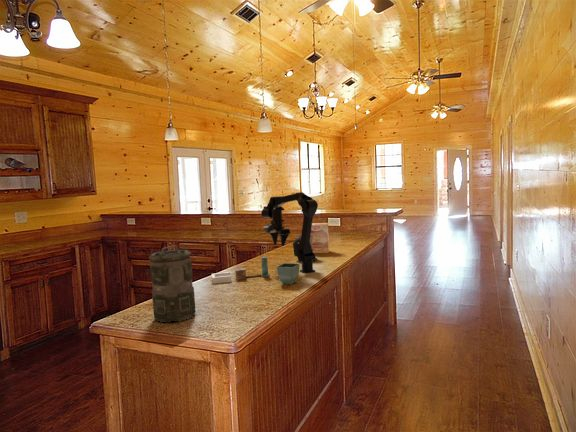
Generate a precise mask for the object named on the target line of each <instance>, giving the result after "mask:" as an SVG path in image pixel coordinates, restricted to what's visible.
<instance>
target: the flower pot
mask: <svg viewBox="0 0 576 432" xmlns="http://www.w3.org/2000/svg"><path fill="white" fill-rule="evenodd" d="M276 272H277V275H278V279H279V281H280V282H281V284H282V285H292V284H294V283H296V282H297V280H298V278H299V275H300V263H290V262H289V263H287V262H286V263H284V262H283V263H281V264H279V265H277V266H276Z"/></svg>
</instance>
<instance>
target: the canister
mask: <svg viewBox="0 0 576 432" xmlns="http://www.w3.org/2000/svg"><path fill="white" fill-rule="evenodd" d="M171 248H175V249H171ZM168 249H171V250H168ZM191 255H192V254H191V251H189V249H186V248H178V245H176V244H174V245H170V246H165V247H163V248H161V250H159V251H154V253H152V254H151V255H149V256H148V260H149V263H150V264H149V270H150V271H149V272H150V281H151V286H152V293H151V294H152V295H151V296H152V297H151V298H152V299H151V300H152V306H153V307H152V310H153V318H154V320H155V321H156V320H157V321H156V322H158V321H160V322H159V323H162V322H167V323H172V322H171V321H175V322H178V321H180V322H183V321H182V320H184V321H186V319H187V320H189V319H191V318H192V316H194V315H195V314H196V311H197V310H196V300H195V299H196V297H195V287H194V286H193V277H194V276H193V265H192V264H193V263H192V260H191Z"/></svg>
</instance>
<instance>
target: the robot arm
mask: <svg viewBox="0 0 576 432" xmlns="http://www.w3.org/2000/svg"><path fill="white" fill-rule="evenodd" d="M294 201H297V203H298V205H299V206H300V207H301V213H302V215H303V220H302V226H301V234H300V235H301V241H300V243H299V242H298V243H297V244H296V249H295V251H296V255H297V256H296V257H297V261H298V262H300V263H301V269H299V273H300V272H301V273H304V274H308V273H312V272H313V273H314V272H316V270H315V269H314V266H313V265H314V264H313V262H314V261H313V259H315V257H316V253H313V252H312V249H311V244H310V235H311V228H312V223H313V220H314V219H313V218H314V216H315V214H316V213H317V210H318V206H319V203H318V202H317V200H315V199H313V198H312V197H311V196H310V195H307V194H306V193H304V192H303V191H301V192H299V191H298V192H295V193H292V194H287V195H278V196H277V195H276V196H271V197H270V199H269V201H268V203H267V204H266V205H265V206H263V209H262V210H261V213H260V214H261V217H262V218H264V219H271V220H270V223H268V224H266V225H264V226H262V227H263V231H264V232H265V233H267V234H268V235H270V236H271V239H272V243H273V244H274V245H277V243H278V238H280V245H281V247H284V246H285V244H286V242H287V239H288V237H289V235H290V234H291V229H289V228H287V227H285V226H283V225H284V224H283V223H284V222H285V220H284V219H283V211H285V210H286V209H285V208H284V207H283V206H284V205H285V204H287V203H290V202H294ZM316 258H317V257H316Z"/></svg>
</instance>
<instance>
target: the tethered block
mask: <svg viewBox="0 0 576 432" xmlns="http://www.w3.org/2000/svg"><path fill="white" fill-rule="evenodd" d="M260 260H261V274H257V275H255V274H254V275H247V270H246V268H245V267H241V268H235V269H234V272H235V279H236V281H240V280H247V278H248V279H249V278H258V277H261V278H267V277H270V275H271V274H270V273H269V267H268V263H269V262H268V257H267V256H263V257H260Z"/></svg>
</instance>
